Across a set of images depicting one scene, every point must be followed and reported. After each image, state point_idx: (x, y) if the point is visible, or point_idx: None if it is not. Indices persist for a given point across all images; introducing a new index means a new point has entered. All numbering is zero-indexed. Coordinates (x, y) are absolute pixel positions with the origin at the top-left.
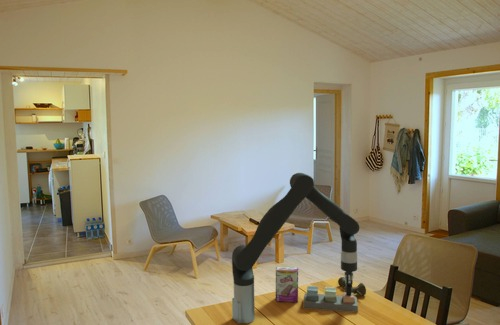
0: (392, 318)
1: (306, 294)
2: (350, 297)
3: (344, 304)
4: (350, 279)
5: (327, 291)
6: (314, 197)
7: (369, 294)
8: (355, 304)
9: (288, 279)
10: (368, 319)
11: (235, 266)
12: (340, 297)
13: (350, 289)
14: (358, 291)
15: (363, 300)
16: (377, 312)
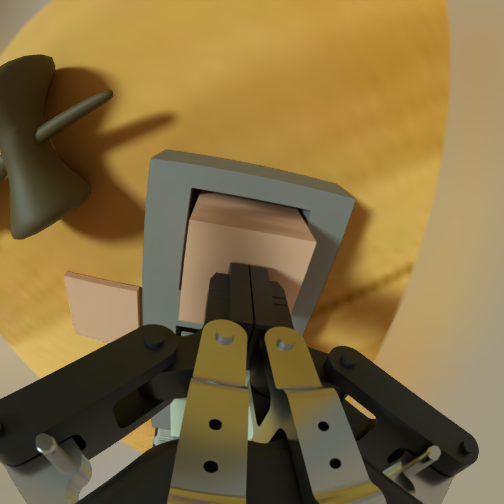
0: (429, 6)
1: (164, 425)
2: (303, 276)
3: (311, 297)
4: (446, 489)
5: (252, 436)
6: None
7: (43, 36)
8: (326, 211)
9: None
10: (433, 152)
11: None
12: (178, 299)
13: (274, 321)
14: (37, 119)
15: (129, 82)
16: (354, 41)
